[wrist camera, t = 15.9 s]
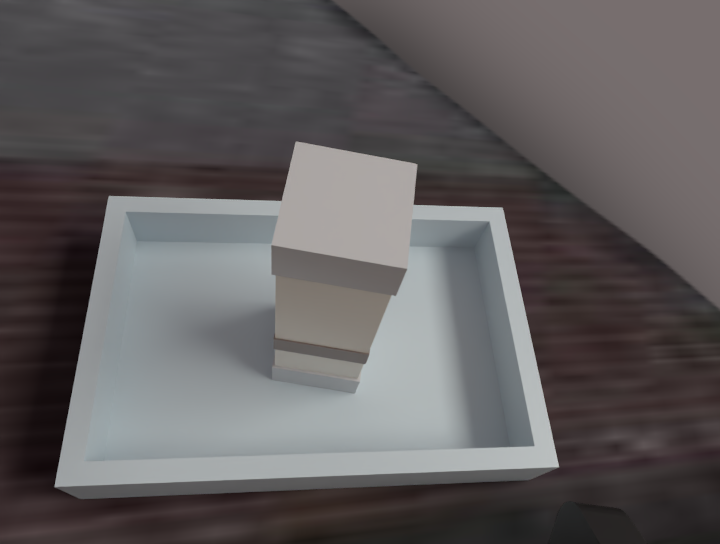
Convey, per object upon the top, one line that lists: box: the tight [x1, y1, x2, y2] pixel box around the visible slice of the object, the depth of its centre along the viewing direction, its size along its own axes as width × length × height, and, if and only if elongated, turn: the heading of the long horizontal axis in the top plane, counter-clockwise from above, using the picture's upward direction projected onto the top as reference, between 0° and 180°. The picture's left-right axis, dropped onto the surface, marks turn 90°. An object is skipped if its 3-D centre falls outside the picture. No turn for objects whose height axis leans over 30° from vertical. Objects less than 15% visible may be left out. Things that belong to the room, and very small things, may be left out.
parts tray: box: [54, 196, 559, 499], centre depth 25 cm, size 18×12×3 cm, turn 93°
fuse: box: [271, 142, 417, 393], centre depth 21 cm, size 4×4×11 cm
